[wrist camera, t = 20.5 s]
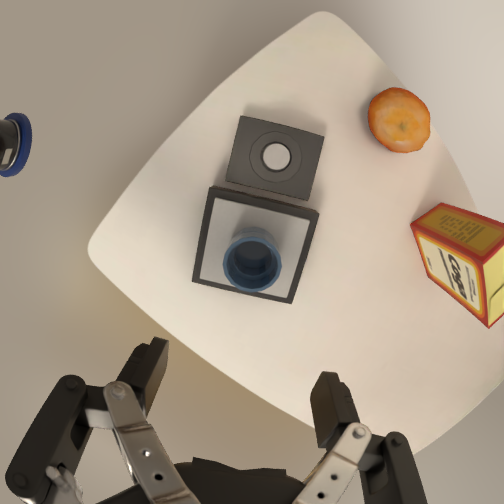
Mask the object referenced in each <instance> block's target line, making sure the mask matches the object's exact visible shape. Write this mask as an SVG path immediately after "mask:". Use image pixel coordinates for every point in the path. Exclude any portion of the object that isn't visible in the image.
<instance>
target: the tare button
mask: <svg viewBox="0 0 504 504" xmlns="http://www.w3.org/2000/svg"><path fill="white" fill-rule="evenodd" d="M263 160H264V162H265V164H266V165H267V166H268V167H269V168H271V169H275V170H278V169H282V168H284V167H285V166H286V165H287V164H288V163H289V160H290V154H289V151H288V149H287V148H286V147H285V146H283V145H281V144H272V145H270V146H268V147H267V148H266V149H265V151H264V154H263Z"/></svg>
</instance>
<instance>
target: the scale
mask: <svg viewBox="0 0 504 504" xmlns="http://www.w3.org/2000/svg"><path fill="white" fill-rule="evenodd" d="M318 217H319V213H318V212H317V211H315V210H312V209H308V208H304V207H301V206H297V205H293V204H289V203H285V202H281V201H277V200H273V199H269V198H265V197H261V196H257V195H252V194H248V193H244V192H239V191H235V190H230V189H226V188H221V187H217V186H211V187H209V191H208V196H207V201H206V205H205V210H204V216H203V221H202V226H201V231H200V237H199V242H198V248H197V253H196V259H195V265H194V271H193V277H192V282H195V283H199V284H203V285H207V286H211V287H216V288H220V289H224V290H228V291H233V292H237V293H242V294H246V295H251V296H255V297H260V298H264V299H269V300H274V301H278V302H283V303H288V304H292V301H293V298H294V295H295V292H296V289H297V286H298V283H299V280H300V277H301V274H302V271H303V267H304V264H305V261H306V258H307V255H308V251H309V248H310V245H311V241H312V238H313V235H314V231H315V228H316V224H317V221H318ZM248 227H258V228H262V229H265V230H266V231H268V232H269V233H271V234H272V235H273V236H274V238H275V240H276V241H277V243H278V247H279V251H280V256H281V262H282V269H281V272H280V276H279V278H278V279H277V280H276V282H275V283H274V284H273V285H272V286H271V287H269V288H267V289H265V290H263V291H259V292H247V291H242V290H239V289H238V288H236V287H235V286H233V285H232V284H231V283H230V282H229V280H228V279H227V278H226V276H225V274H224V270H223V259H224V254H225V252H226V249H227V246H228V244H229V241H230V240H231V238H232V237H233V236H234V234H235V233H237V232H238V231H240V230H242V229H244V228H248Z"/></svg>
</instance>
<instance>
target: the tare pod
mask: <svg viewBox="0 0 504 504" xmlns="http://www.w3.org/2000/svg"><path fill="white" fill-rule="evenodd" d="M323 141H324V136H321V135H317V134H314V133H310V132H307V131H304V130H300V129H296V128H293V127H289V126H285V125H281V124H277V123H273V122H269V121H264V120H260V119H256V118H251V117H246V116H240V120H239V124H238V128H237V132H236V136H235V140H234V144H233V148H232V153H231V157H230V161H229V165H228V170H227V174H226V179H225V181H228V182H233V183H237V184H242V185H246V186H250V187H255V188H259V189H263V190H267V191H271V192H275V193H279V194H283V195H287V196H291V197H295V198H299V199H303V200H306V201H308V200H309V196H310V192H311V189H312V185H313V181H314V177H315V173H316V169H317V165H318V161H319V157H320V153H321V149H322V145H323ZM272 144H281V145H283V146H285V147H286V148H287V149H288V151H289V154H290V160H289V163H288V164H287V165H286V166H285V167H284V168H282V169H278V170H275V169H271V168H269V167H268V166H267V165H266V164H265V162H264V160H263V154H264V151H265V149H266V148H267V147H268V146H270V145H272Z"/></svg>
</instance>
